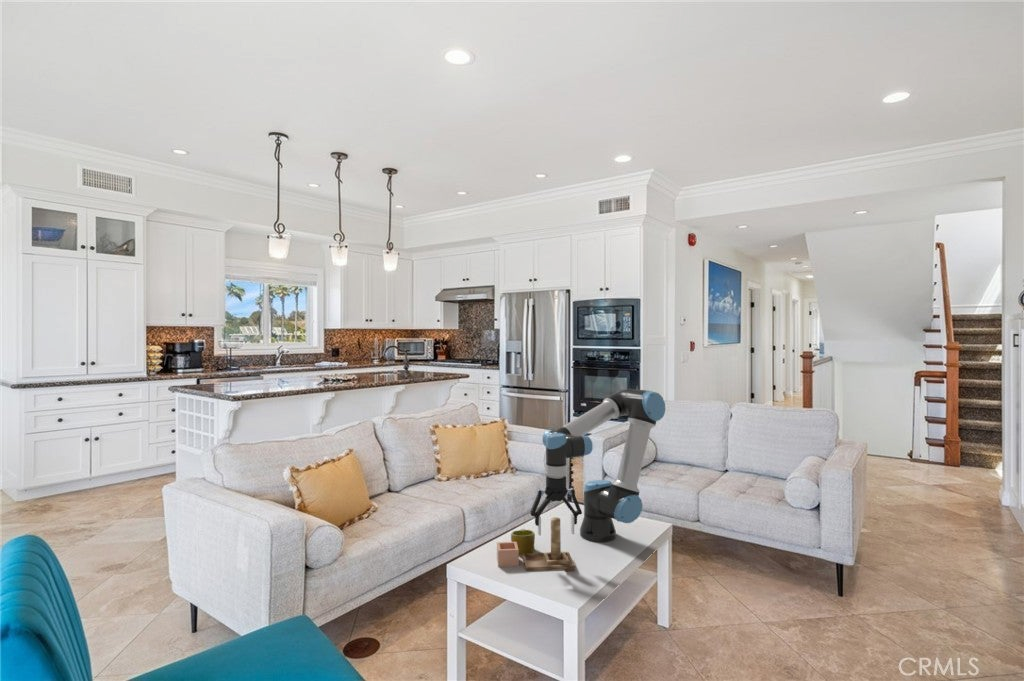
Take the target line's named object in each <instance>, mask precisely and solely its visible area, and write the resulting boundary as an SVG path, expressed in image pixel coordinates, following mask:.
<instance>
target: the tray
mask: <svg viewBox="0 0 1024 681" xmlns="http://www.w3.org/2000/svg"><path fill="white" fill-rule="evenodd" d="M521 556H522V557H521V558H522V562H523V565H524V568H525V571H526V572H533V571H534V572H535V571H552V570H557V571H558V570H564V572H565V573H567V572H570V573H571V572H576V563H575V562H574V560H573V558H572V556H571V554H570V552H569V551H561V560H551V551H544V552H534V553H527V554H522V555H521Z"/></svg>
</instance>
